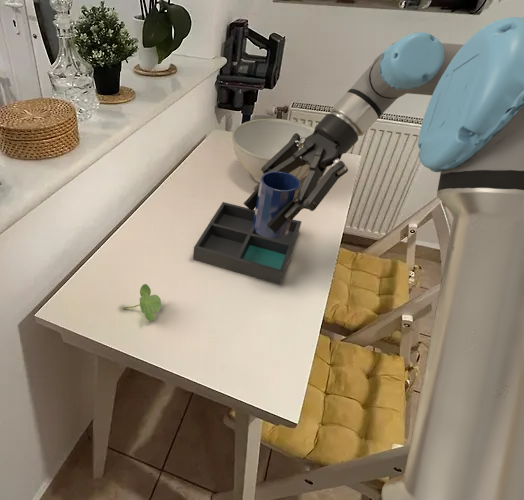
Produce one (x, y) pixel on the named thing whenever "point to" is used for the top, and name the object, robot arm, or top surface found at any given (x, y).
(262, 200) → the cup
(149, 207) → the top surface
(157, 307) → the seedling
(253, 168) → the decorative bowl
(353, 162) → the top surface
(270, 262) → the tray
